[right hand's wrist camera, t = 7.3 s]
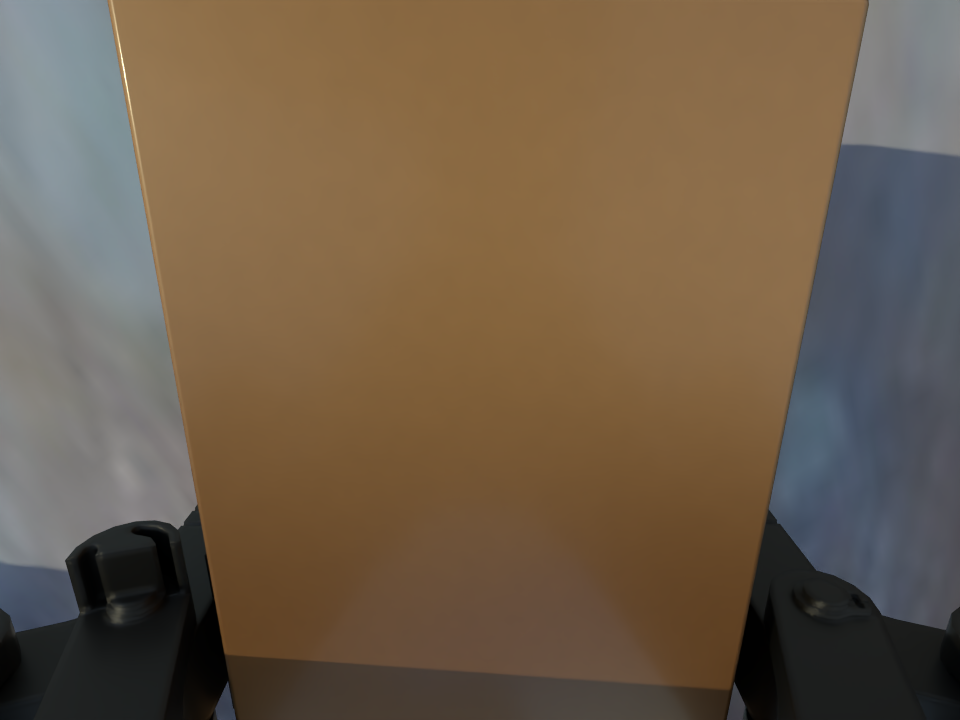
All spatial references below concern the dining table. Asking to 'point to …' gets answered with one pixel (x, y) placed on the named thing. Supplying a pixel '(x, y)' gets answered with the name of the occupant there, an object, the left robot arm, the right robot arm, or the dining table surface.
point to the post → (485, 333)
